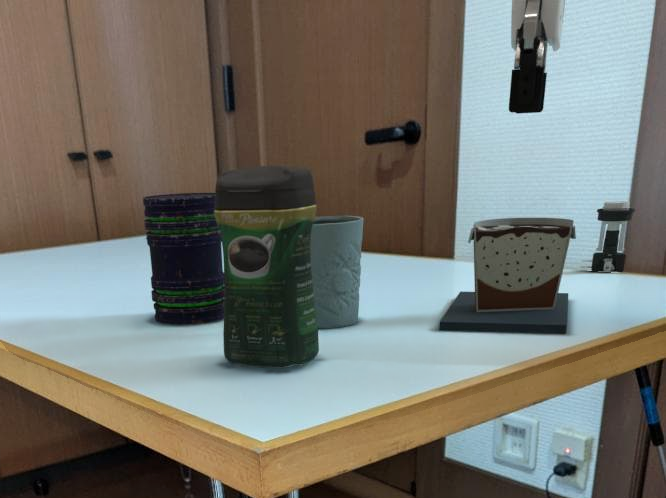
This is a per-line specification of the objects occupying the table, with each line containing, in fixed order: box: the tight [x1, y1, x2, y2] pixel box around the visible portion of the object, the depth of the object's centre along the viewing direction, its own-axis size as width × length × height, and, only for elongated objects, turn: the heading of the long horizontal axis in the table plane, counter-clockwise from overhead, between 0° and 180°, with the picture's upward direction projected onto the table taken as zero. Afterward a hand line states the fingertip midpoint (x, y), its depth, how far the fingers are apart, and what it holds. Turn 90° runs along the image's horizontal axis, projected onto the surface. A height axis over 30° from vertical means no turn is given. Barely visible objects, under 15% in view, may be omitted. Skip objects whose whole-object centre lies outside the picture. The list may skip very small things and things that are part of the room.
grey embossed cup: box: [310, 215, 365, 330], centre depth 98 cm, size 10×10×12 cm
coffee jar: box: [214, 165, 320, 369], centre depth 80 cm, size 10×8×19 cm
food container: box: [467, 217, 577, 312], centre depth 97 cm, size 12×6×10 cm, turn 89°
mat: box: [438, 291, 569, 335], centre depth 99 cm, size 14×20×1 cm
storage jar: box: [142, 192, 224, 326], centre depth 103 cm, size 10×10×15 cm
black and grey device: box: [579, 200, 636, 273], centre depth 124 cm, size 7×5×10 cm
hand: (526, 112), depth 90 cm, fingers open, 9 cm apart
